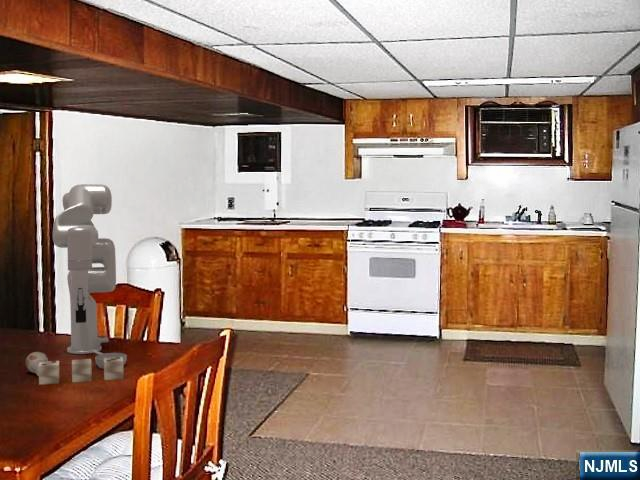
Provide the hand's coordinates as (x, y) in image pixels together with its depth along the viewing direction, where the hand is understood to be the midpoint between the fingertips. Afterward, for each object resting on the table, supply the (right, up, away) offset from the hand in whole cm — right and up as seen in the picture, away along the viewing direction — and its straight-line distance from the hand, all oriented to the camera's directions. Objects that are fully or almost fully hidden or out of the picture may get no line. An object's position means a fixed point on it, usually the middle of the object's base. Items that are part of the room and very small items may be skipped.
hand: (80, 321), depth 248 cm
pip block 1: (-10, -19, -1) cm, 22 cm away
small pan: (+2, -18, +22) cm, 28 cm away
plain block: (0, -19, +2) cm, 19 cm away
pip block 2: (+9, -19, +5) cm, 22 cm away
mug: (-16, -19, +8) cm, 26 cm away
